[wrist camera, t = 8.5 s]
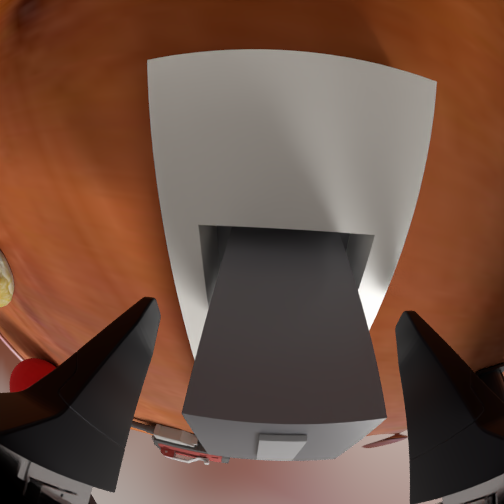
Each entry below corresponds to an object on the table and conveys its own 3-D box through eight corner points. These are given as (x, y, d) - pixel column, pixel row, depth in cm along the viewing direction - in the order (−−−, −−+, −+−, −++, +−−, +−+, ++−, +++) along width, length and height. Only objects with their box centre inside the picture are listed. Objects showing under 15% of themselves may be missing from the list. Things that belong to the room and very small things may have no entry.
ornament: (51, 376, 28) (28, 428, 20) (17, 337, 23) (-15, 394, 15) (93, 392, 28) (70, 453, 19) (56, 352, 22) (22, 423, 14)
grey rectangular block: (334, 220, 11) (388, 424, 4) (319, 293, 13) (334, 462, 6) (235, 214, 11) (180, 419, 4) (237, 288, 13) (207, 458, 6)
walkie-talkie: (241, 437, 31) (107, 405, 31) (238, 465, 27) (99, 429, 27) (236, 449, 36) (123, 423, 36) (234, 472, 32) (116, 443, 32)
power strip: (396, 79, 7) (447, 82, 4) (306, 408, 22) (306, 442, 19) (182, 64, 8) (137, 58, 5) (222, 404, 23) (217, 437, 20)
